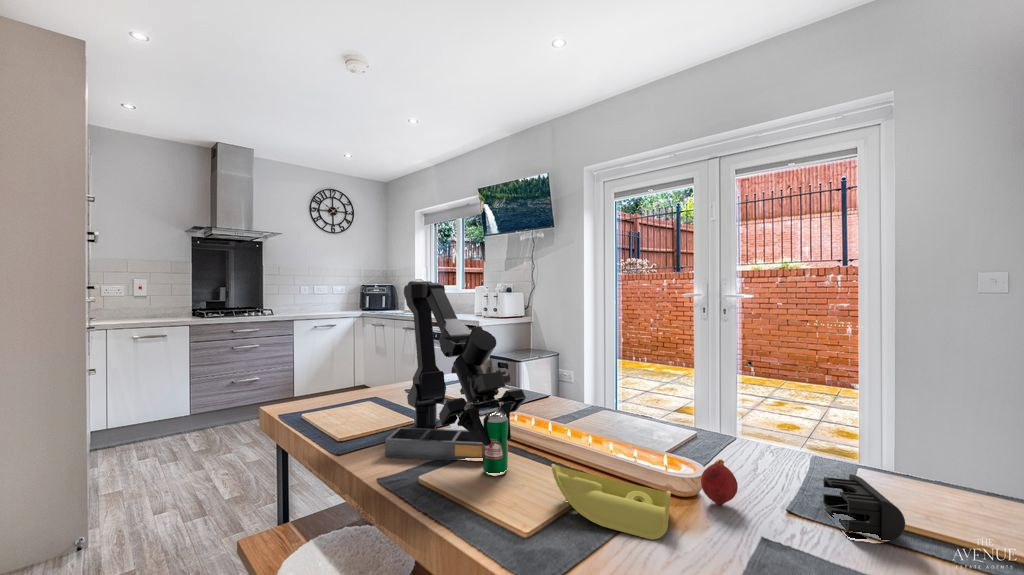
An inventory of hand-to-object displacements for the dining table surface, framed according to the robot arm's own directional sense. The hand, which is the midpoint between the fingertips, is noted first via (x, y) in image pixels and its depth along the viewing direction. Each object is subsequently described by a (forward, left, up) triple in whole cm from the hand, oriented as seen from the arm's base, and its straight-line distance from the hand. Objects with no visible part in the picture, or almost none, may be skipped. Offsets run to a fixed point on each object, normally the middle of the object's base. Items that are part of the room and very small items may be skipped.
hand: (498, 442), depth 91 cm
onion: (+7, +40, -7) cm, 41 cm away
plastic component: (+12, +21, -7) cm, 25 cm away
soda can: (-1, -1, -7) cm, 7 cm away
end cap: (+12, +60, -7) cm, 62 cm away
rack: (-10, -15, -7) cm, 19 cm away
